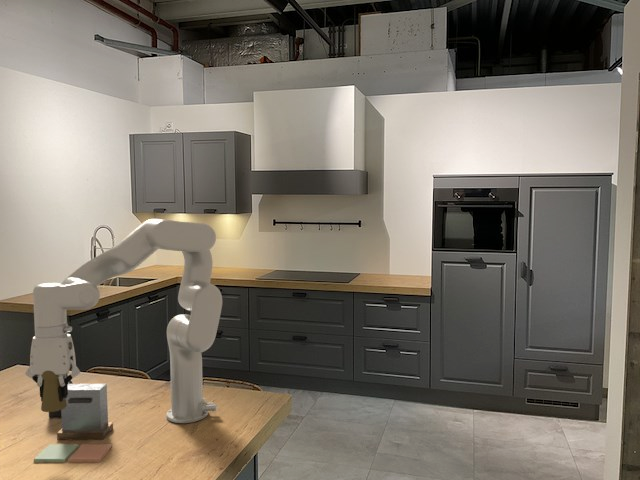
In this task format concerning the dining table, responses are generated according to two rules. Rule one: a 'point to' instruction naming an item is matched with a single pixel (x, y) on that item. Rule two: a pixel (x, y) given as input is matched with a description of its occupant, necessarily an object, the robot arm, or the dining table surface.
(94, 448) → the terracotta pad
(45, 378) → the brown pepper mill
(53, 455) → the green pad
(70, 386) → the grey unit
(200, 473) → the dining table surface
